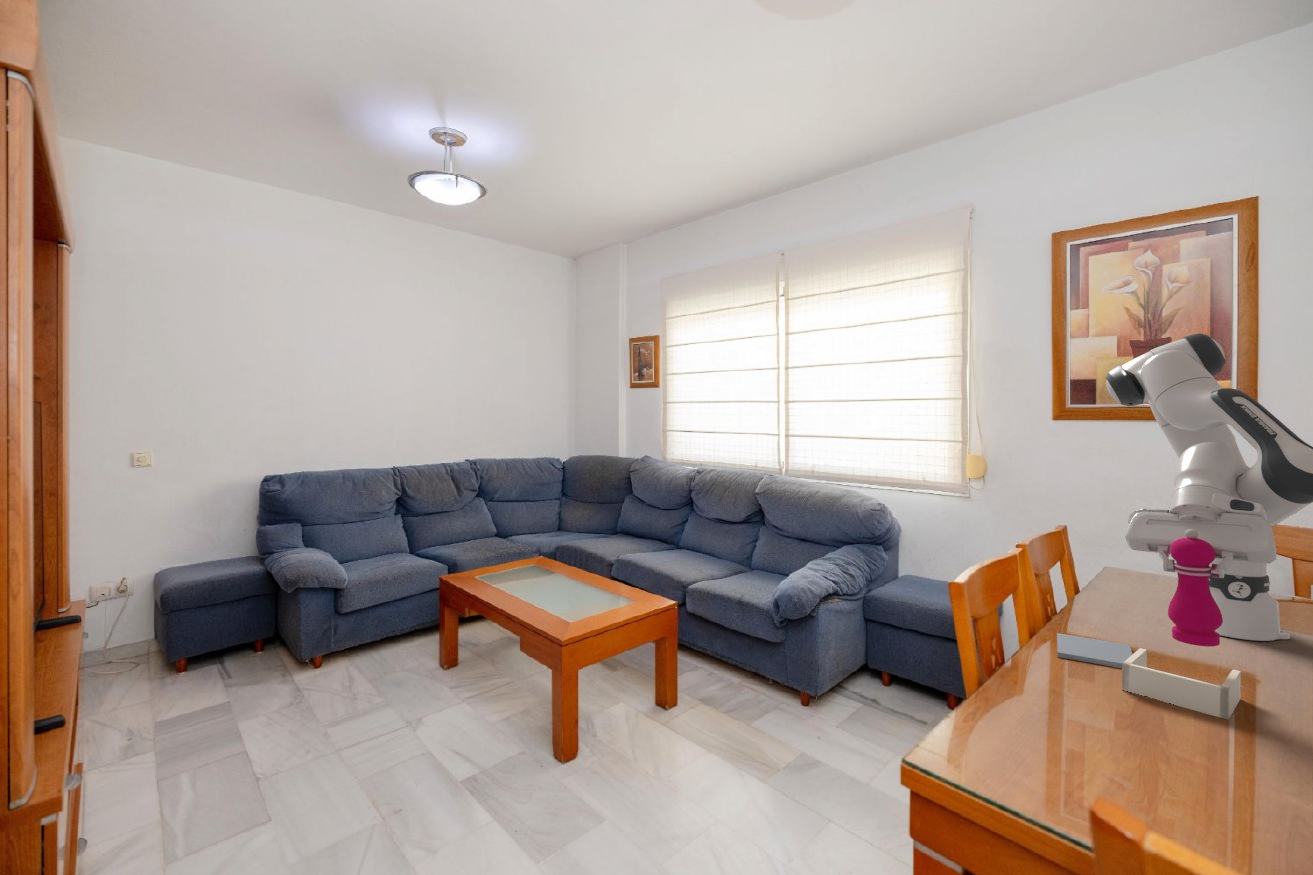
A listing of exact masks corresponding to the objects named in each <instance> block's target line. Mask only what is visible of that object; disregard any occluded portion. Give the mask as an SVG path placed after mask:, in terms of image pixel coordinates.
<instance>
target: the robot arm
mask: <svg viewBox="0 0 1313 875" xmlns="http://www.w3.org/2000/svg"><path fill="white" fill-rule="evenodd" d="M1225 365H1226V358H1225V350H1224V349H1223V347H1222V346H1221V344H1220V343H1219V342H1218V341H1216V340H1215V339H1213V338H1212V337H1210V336H1209V334H1204V333H1202V332H1200V333H1194V334H1191V335H1190V334H1189V335H1187V336H1183V337H1182V338H1181V339H1177V340H1175V341H1171V342H1169V343H1165V344H1163V345H1160V346H1157V347H1154V348H1153V349H1151V350H1149V351H1147V352H1145V353H1144V354H1141V355H1139V356H1136V357H1135V358H1133V359H1131V360H1129V361H1127V362H1125V363H1124V364H1122V365H1121V364H1119V365H1116V366H1115V367H1114V368H1112V369H1111V370H1109V371H1108V372H1107V373H1106V376H1105V379H1106V380H1105V381H1106V384H1105V385H1106V390H1107V392H1108V393H1109V396H1110V397H1111V398H1112V399H1113V400H1115V401H1116V402H1118V403H1120V404H1121V405H1122V406H1127V407H1134V406H1139V405H1144V403H1145V402H1147V403H1148V406H1149V407H1150V410H1151V412H1152V414H1153V417H1154V418H1155V421H1156V423H1157V424H1158V425H1159V427H1160V429H1161V430H1162V433H1163V435H1164V436H1165V437H1166V439H1167V440H1168V442H1169V444H1170V446H1171V447H1172V448H1173V450H1174V452H1175V454H1176V456H1177V458H1178V462H1177V465H1176V468H1175V473H1174V477H1173V484H1174V490H1173V491H1172V492H1171V495H1170V503H1169V507H1168V508H1169V509H1149V508H1140V509H1138V510H1134V511H1132V512H1130V514H1129V516H1128V527H1127V528H1126V532H1125V542H1126V545H1127V546H1128V548H1130V549H1131V550H1132V551H1137V552H1138V551H1139V552H1148V553H1158V556H1159V558H1160V559H1161V561H1162V563H1163V564H1162V568H1163V571H1164V572H1169V573H1176V572H1175V571H1174V569H1175V566H1174V564H1176V561H1175V560H1174V559H1173V558H1172V559H1171V558H1170V559H1169V557H1170V556H1171V554H1170V547H1171V544H1172V543H1173V542H1174V541H1176V540H1177V539H1181V538H1187V537H1186V536H1185V532H1186V531H1187V530H1189V529H1193V530H1195V531H1197V532H1198V537H1197V538H1198V539H1201V540H1204V541H1206V542H1208V543H1209V544H1211V545H1212V547H1213V548H1214V550H1215V560H1214V561H1213V562H1212V563H1210V565H1209V566H1210V567H1212V569H1211V574H1212V575H1210V576H1209V587H1210V591H1211V594H1212V596H1213V598H1214V600H1215V602H1216V604H1217V605H1218V607H1219V609H1220V611H1221V614H1222V619H1223V623H1222V625H1221V626H1220V627H1219V628H1218V629H1216V630H1215V632H1217V633H1218V634H1219V636H1223V637H1229V638H1233V639H1239V640H1247V641H1256V642H1257V641H1262V642H1267V641H1268V642H1269V641H1275V640H1290V639H1291V634H1290V633H1288V632H1286V631H1284V630H1282V629H1281V623H1280V621H1281V620H1280V607H1279V606H1280V605H1279V601H1278V600H1277V599H1275V598H1274V597H1272V596H1271V594H1269V592H1270V585H1271V581H1270V576H1269V575H1268V574H1267V567H1268V566H1267V565H1269V564H1272V563H1273V562H1275V561H1276V560H1277V557H1278V556H1277V548H1276V547H1277V545H1276V540H1275V535H1274V531H1273V527H1275V526H1277V525H1278V524H1281V522H1283V521H1284V520H1286V519H1288V518H1289V517H1291V516H1293V515H1295V514H1297V513H1299V512H1300V511H1301V510H1303V509H1304V508H1306V507H1307V506H1309V505H1310V504H1312V503H1313V445H1310V444H1309V443H1307V442H1306V441H1304V440H1303V439H1302V438H1300V437H1299V436H1298V435H1297V434H1296V433H1295V432H1294V431H1293V430H1291V429H1290V428H1289V427H1288V426H1286V425H1285V424H1284V423H1283V422H1282V421H1281V420H1279V418H1277V416H1275V415H1274V414H1273V413H1271V412H1270V411H1269V410H1268V409H1267V408H1266V407H1265V406H1263V405H1262V404H1260V402H1258V401H1257V400H1256V399H1255V398H1253V397H1251V395H1249V394H1247V393H1245V392H1244V391H1242V390H1238V389H1237V388H1231V387H1230V388H1229V387H1228V388H1227V387H1226V388H1225V387H1223V386H1222V385H1221V384H1220V383H1219V382H1218V380H1216V379H1215V376H1216V375H1217V374H1219V373H1220V372H1221V371H1222V370H1223V368H1224V367H1225ZM1228 425H1229V426H1231V427H1232V428H1233V429H1234V430H1235V431H1236V432H1237V433H1238V434H1239V435H1240V436H1241V437H1242V438H1243V439H1244V440H1245V441H1246V442H1247V443H1248V444H1250V445H1251V446H1252V447H1253V449H1255V450H1256V451H1257V459H1256V462H1255V464H1254V465H1252V466H1251V467H1250V466H1248V465H1247V463H1246V461H1245V460H1244V458H1243V456H1242V453H1241V451H1240V449H1239V447H1238V444H1237V442H1236V437H1235V435H1234V434H1233V433H1232V431H1231V429H1230V427H1229V426H1228Z"/></svg>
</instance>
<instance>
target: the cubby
mask: <svg viewBox="0 0 1313 875" xmlns="http://www.w3.org/2000/svg"><path fill="white" fill-rule="evenodd" d="M1147 652H1148V651H1147V649H1146V648H1141V647H1139V648H1138V649H1137V650H1136V651H1135V652H1134V653H1133V655H1131V656H1130V657H1129V658H1128V659H1127V660H1126V661H1124V662H1123V663H1122V668H1121V671H1122V672H1121V675H1122V677H1121V678H1122V680H1121V690H1122V691H1123V690H1124V691H1123V692H1127V691H1128V692H1127V693H1130V692H1132V693H1131V694H1134V693H1136V694H1135V695H1137V694H1139V695H1138V696H1141V695H1142V697H1144V696H1148V697H1151V698H1150V699H1152V698H1155V699H1157V700H1156V701H1159V700H1160V701H1159V702H1162V701H1163V702H1162V703H1166V704H1169V703H1171V704H1170V705H1173V704H1174V706H1177V707H1180V708H1184V709H1188V710H1192V711H1194V712H1195V711H1196V712H1199V713H1202V714H1205V715H1209V716H1213V717H1216V718H1219V719H1224V720H1227V721H1228V720H1230V718H1231V716H1232V714H1233V713H1234V711H1235V709H1236V708H1237V706H1238V704H1239V702H1240V701H1241V699H1242V698H1241V690H1242V689H1241V687H1242V686H1241V685H1242V684H1241V681H1242V680H1241V677H1242V676H1241V674H1242V673H1241V670H1238V669H1232V670H1231V671H1230V672H1229V674H1228V675H1227V677H1226V678H1225V680H1224V681H1223V682H1222V684H1221V685H1220V684H1216V683H1215V684H1214V683H1211V682H1206V681H1204V680H1198V679H1195V678H1191V677H1187V676H1182V675H1178V674H1174V673H1170V672H1166V671H1163V670H1157V669H1154V668H1149V667H1148V666H1147V665H1148V664H1147V663H1148V660H1147V657H1148V656H1147V654H1148V653H1147ZM1148 697H1147V698H1148ZM1155 699H1154V700H1155Z"/></svg>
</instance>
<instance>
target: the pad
mask: <svg viewBox="0 0 1313 875" xmlns="http://www.w3.org/2000/svg"><path fill="white" fill-rule="evenodd" d="M1056 651H1057V654H1056V655H1057V658H1061V659H1068V660H1073V661H1079V662H1083V663H1084V662H1085V663H1089V664H1095V665H1102V666H1106V667H1112V668H1116V669H1117V668H1119V669H1122V663H1123V662H1124V661H1126V660H1127V659H1128V658H1129V657H1130V656H1131V655H1133V654H1134V653H1133V652H1132V649H1131V646H1130V643H1129V644H1128V643H1121V642H1115V641H1109V640H1102V639H1095V638H1090V637H1084V636H1077V635H1071V634H1064V633H1056Z"/></svg>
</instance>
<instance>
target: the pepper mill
mask: <svg viewBox="0 0 1313 875" xmlns="http://www.w3.org/2000/svg"><path fill="white" fill-rule="evenodd" d="M1185 536H1186V537H1187V538H1181V539H1177V540H1176V541H1174V542H1173V543H1172V544H1171V547H1170V556H1171V558H1172V560H1175V564H1174V566H1175V569H1174V571H1175V572H1174V573H1177V587H1176V590H1175V592H1174V594H1173V596H1172V598H1171V599H1170V601H1169V604H1168V608H1167V616H1168V618H1169V620H1170V621H1171V622H1172V623H1173V624H1174V626H1172V627H1171V636H1172V638H1173V639H1174V640H1176V641H1177V642H1180V643H1183V644H1188V645H1191V646H1192V645H1193V646H1200V647H1217V646H1219V645H1220V643H1221V641H1220V639H1221V638H1220V636H1221V635H1219V634H1218V633H1217V632H1215V630H1216V629H1218V628H1219V627H1220V626H1221V625H1222V623H1223V619H1222V614H1221V611H1220V609H1219V607H1218V605H1217V604H1216V602H1215V600H1214V598H1213V596H1212V594H1211V591H1210V587H1209V576H1210V575H1212V574H1211V569H1212V567H1210V566H1209V565H1210V563H1212V562H1213V561H1214V560H1215V550H1214V548H1213V547H1212V545H1211V544H1209V543H1208V542H1206V541H1204V540H1201V539H1198V538H1197V537H1198V532H1197V531H1195V530H1193V529H1189V530H1187V531H1186V532H1185Z"/></svg>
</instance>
